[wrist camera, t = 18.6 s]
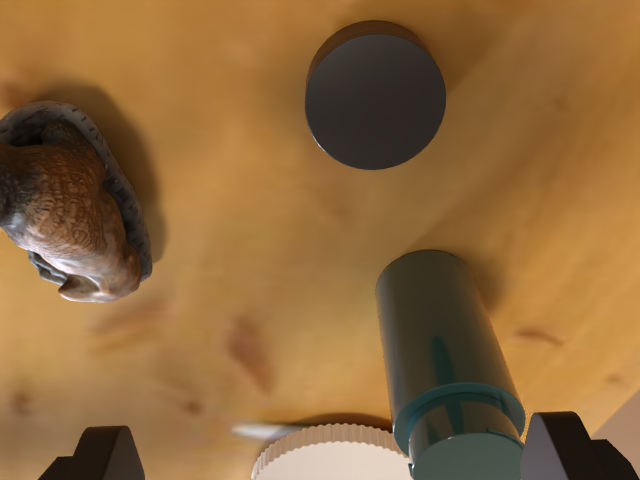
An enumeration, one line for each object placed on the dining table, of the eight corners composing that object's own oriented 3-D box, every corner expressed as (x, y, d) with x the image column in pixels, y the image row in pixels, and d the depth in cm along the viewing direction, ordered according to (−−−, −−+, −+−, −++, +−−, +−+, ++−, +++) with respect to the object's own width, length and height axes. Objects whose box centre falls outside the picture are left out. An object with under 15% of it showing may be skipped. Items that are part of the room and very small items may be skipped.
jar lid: (303, 22, 26) (301, 35, 24) (442, 18, 26) (452, 31, 24) (308, 150, 30) (307, 172, 28) (431, 147, 30) (439, 168, 28)
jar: (448, 336, 37) (499, 520, 27) (361, 314, 36) (378, 496, 26) (491, 264, 34) (569, 441, 23) (397, 238, 33) (433, 410, 22)
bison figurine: (183, 258, 34) (138, 385, 25) (76, 279, 35) (-2, 408, 26) (95, 63, 27) (-4, 146, 19) (-33, 95, 28) (-182, 188, 20)
